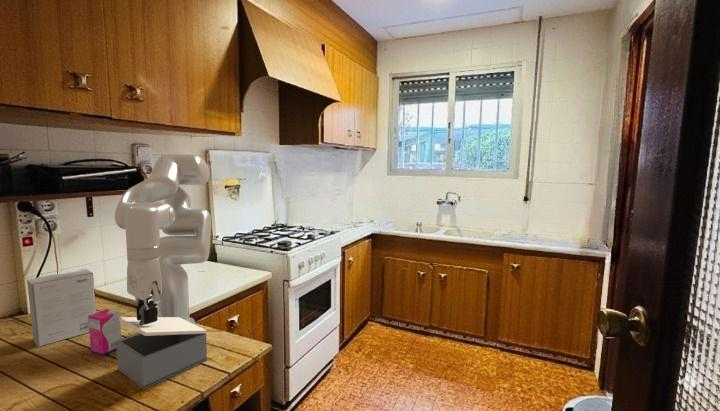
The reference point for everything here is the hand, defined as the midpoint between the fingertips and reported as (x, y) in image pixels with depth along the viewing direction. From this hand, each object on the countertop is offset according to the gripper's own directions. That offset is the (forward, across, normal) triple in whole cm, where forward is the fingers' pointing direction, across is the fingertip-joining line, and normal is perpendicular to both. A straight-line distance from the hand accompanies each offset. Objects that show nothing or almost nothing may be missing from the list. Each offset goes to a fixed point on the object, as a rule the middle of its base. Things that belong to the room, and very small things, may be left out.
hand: (147, 319), depth 96 cm
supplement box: (+15, -22, -2) cm, 26 cm away
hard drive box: (+15, -43, -6) cm, 46 cm away
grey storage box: (+14, 0, +4) cm, 15 cm away
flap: (+3, 0, +4) cm, 5 cm away
